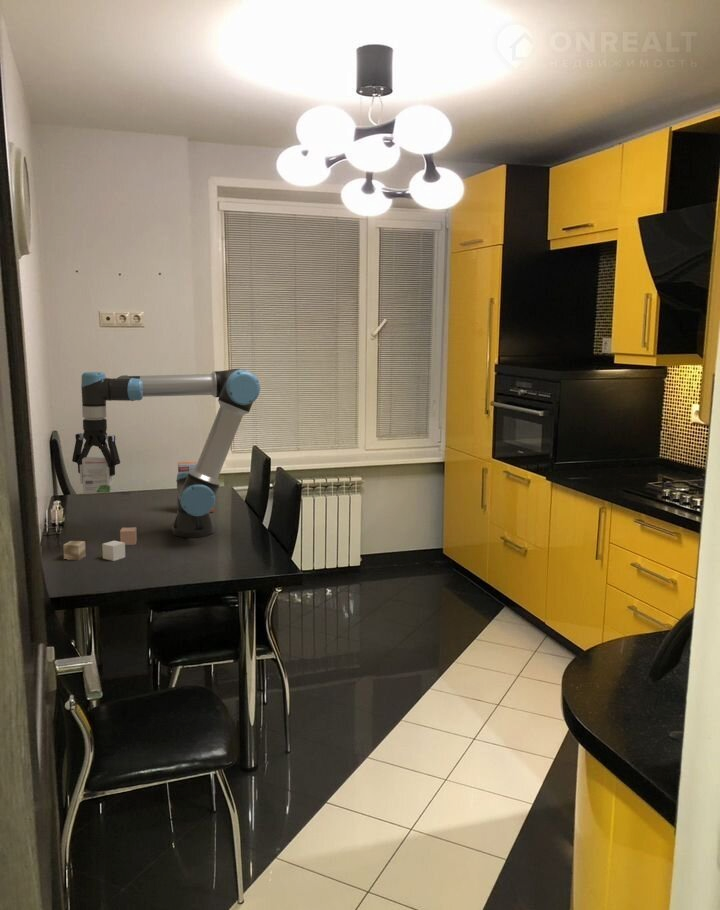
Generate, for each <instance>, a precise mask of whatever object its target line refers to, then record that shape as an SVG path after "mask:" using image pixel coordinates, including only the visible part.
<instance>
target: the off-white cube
mask: <svg viewBox="0 0 720 910" xmlns="http://www.w3.org/2000/svg"><path fill="white" fill-rule="evenodd" d="M101 545H102V559H104V560H108V561H113V562H115V561H118V560H121V559H124V558H126V545H125V543H124V542H120V541H118V540H112V541H111V540H110V541H108V542H104V543H102V544H101Z"/></svg>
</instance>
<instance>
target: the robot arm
mask: <svg viewBox="0 0 720 910" xmlns="http://www.w3.org/2000/svg"><path fill="white" fill-rule="evenodd" d="M260 384H261V383H260V381H259V378H258V377H257V376H256V375H255V374H254V373H253V372H251V371H249V370H246V369H242V368H232V369H227V370H216V371H215V370H214V371H212V372H211V373H205V374H204V373H203V374H200V373H198V374H162V375H161V374H159V375H158V374H157V375H152V374H151V375H128V374H127V375H120V376H118V377H117V378H114V377H113V378H110V377H109V378H108V377H106V373H105V372H101V371H100V372H99V371H86V372H83V373H82V374H81V386H80V387H81V402H82V403H81V407H82V409H81V410H82V411H81V412H82V418H83V420H82V430H83V433H76V434H75V435H74V436H75V437H74V438H75V443H74V444H75V445H74V448H73V454H72V459H71V460H72V462H73V463H75V464H77V472H78V474H79V482H80V483H79V484H80V485H81V484H82V485H83V472H82V459H83V458H84V457H88V455H89V453H90V450H91V448H93V446H94V447H98V449H99V450H100V452H101V453H102V455H103V457H105V459H106V461H107V463H108V466H107V467H106V472H107V486H110V487H111V486H112V485H114V476H115V475H116V466H117V465H119V464H121V459H120V455H119V452H118V448H117V444H116V435H114V434H113V435H110V434H108V433H107V429H108V428H107V427H108V424H107V422H108V421H107V419H106V418H107V401H109V402H111V401H120V402H123V401H124V402H126V401H127V402H135V401H141V400H143V397H145V398H146V397H148V398H149V397H177V396H178V397H181V396H182V397H183V396H184V397H185V396H212V397H214V398H217V399H218V400H217V401H218V404H219V409H218V410H217V413H216V416H215V418H214V421H213V423H212V426H211V428H210V431H209V433H208V436H207V438H206V440H205V444H204V446H203V447H202V451H201V453H200V455H199V458H198V459H197V460H198V461H197V462H198V463H197V465H196V468H195V469H194V470H192V471H190V472H182V473H179V474H178V473H177V475H176V480H175V482H176V505H177V506H176V508H177V510H176V511H177V512H176V515H175V519H174V522H173V525H172V534H173V535H174V536H177V537H182V538H201V537H202V538H203V537H206V536H210V535H212V534H214V533H215V526H214V522H213V520H212V517H211V512H210V511H211V510H212V508H213V509H214V507H215V503H216V495H217V492H218V490H219V487H220V484H221V481H220V480H219V476H220V474H221V471H222V468H223V466H224V465H225V461H226V458H227V456H228V454H229V452H230V449H231V446H232V443H233V442H234V438H235V436H236V434H237V432H238V429H239V426H240V424H241V421H242V419H243V417H244V416H245V415H247V414H250V411H251V408H252V405H253V404H254V402H255V401H256V400H257V399H258V397H259V396H260V391H261V385H260ZM84 440H85V442H84Z"/></svg>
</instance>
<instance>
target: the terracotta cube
mask: <svg viewBox="0 0 720 910" xmlns="http://www.w3.org/2000/svg"><path fill="white" fill-rule="evenodd" d="M137 530H138V529H137V527H134V526H133V527H121V529H120V530H119V537H120V541H119V542H124V543H125V546H128V545H129V546H131V545H133V546H134V545H135V546H136V544H137V540H138V536H137Z"/></svg>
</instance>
